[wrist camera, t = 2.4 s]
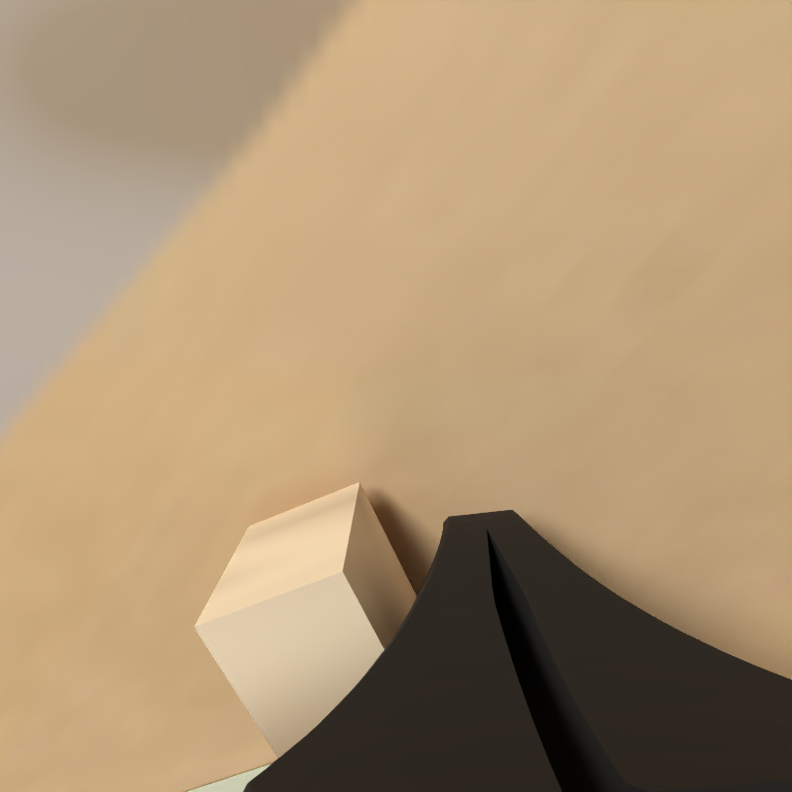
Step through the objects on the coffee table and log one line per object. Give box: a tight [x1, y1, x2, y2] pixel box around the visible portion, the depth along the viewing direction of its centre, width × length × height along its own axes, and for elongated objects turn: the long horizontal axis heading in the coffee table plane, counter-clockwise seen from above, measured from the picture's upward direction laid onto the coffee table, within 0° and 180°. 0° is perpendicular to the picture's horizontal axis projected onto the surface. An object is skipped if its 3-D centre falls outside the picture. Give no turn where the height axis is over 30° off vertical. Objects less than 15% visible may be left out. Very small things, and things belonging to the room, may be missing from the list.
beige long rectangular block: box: [194, 482, 417, 758], centre depth 11 cm, size 9×3×3 cm, turn 24°
